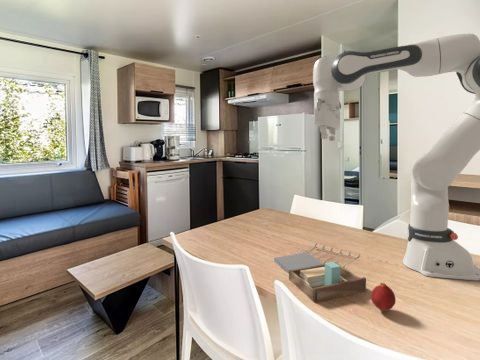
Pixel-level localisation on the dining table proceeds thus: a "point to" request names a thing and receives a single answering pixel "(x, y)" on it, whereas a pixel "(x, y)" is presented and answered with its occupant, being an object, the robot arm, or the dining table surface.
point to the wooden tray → (332, 290)
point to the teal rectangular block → (332, 273)
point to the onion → (383, 297)
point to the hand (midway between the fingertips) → (328, 140)
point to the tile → (297, 261)
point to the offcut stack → (314, 276)
